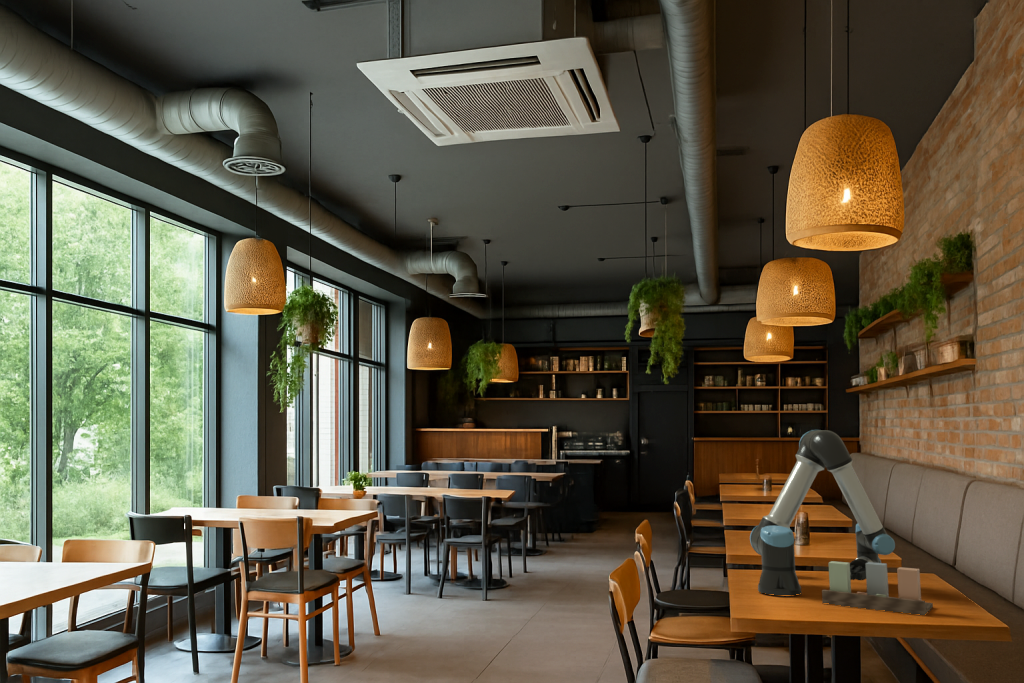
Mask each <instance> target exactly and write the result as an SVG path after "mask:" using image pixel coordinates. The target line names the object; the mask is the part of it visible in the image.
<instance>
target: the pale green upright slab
mask: <svg viewBox="0 0 1024 683" xmlns="http://www.w3.org/2000/svg"><path fill="white" fill-rule="evenodd" d="M850 563H851V562H844V561H834V560H833V561H832V560H831V561H829V562H828V579H829V581H828V582H829V590H831V591H840V592H849V593H852V586H851V585H852V584H851V583H852V582H851V581H852V580H850Z"/></svg>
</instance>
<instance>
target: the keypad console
mask: <svg viewBox="0 0 1024 683" xmlns="http://www.w3.org/2000/svg"><path fill="white" fill-rule="evenodd" d="M821 596H822V597H821V602H822V604H823V603H829V604H835V605H834V606H836V605H841V606H840V607H845V606H850V607H849V608H853V607H858V608H857V609H861V608H866V609H865V610H870V609H875V610H874V611H878V610H885V611H884V612H886V611H893V612H892V613H895V612H903V613H911V614H920V615H925V614H926V613H927V612H928V611H929V610H930V609H931V608H932V607H933V608H934V604H933V602H927V601H926V600H923V599H921V600H913V599H904V598H899V597H893V596H889V597H887V595H883V594H876V595H867V592H863V591H862V592H861V591H857V592H856V593H855V592H851V593H849V592H840V591H831V590H830V589H822V590H821ZM933 608H932V609H933ZM932 609H931V610H932ZM931 610H930V611H931ZM930 611H929V612H930ZM929 612H928V613H929ZM903 613H902V614H903ZM928 613H927V614H928ZM911 614H910V615H911ZM920 615H919V616H920Z"/></svg>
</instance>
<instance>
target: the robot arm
mask: <svg viewBox="0 0 1024 683" xmlns="http://www.w3.org/2000/svg"><path fill="white" fill-rule="evenodd" d="M795 458H796V462H795V464H794V466H793V468H792V470H791V472H790V474H789V476H788V477H787V480H786V481H785V483H784V485H783V487H782V489H781V491H780V493H779V494H778V496H777V498H776V500H775V502H774V504H773V506H772V508H771V509H770V512H769V513H768V514H767V515H763V516H762V517H761V520H760V522H759V524H758V525H756V526H754V527H753V529H752V530H751V532H750V535H749V541H750V542H749V543H750V545H751V547H752V549H753V551H754V552H756V554H758V555H760V556H761V574H760V576H759V580H758V581H759V582H758V585H757V591H759V592H761V593H760V594H762V593H766V594H774V595H796V594H800V593H801V594H802V586H801V585H800V582H799V579H798V576H797V573H796V561H795V560H796V557H795V556H796V555H795V554H796V553H795V537H794V532H793V530H792V529H791V528H790V527H791V524H792V522H793V520H794V519H795V517H796V515H797V514H798V511H799V509H800V508H801V505H802V503H803V502H804V500H805V498H806V496H807V494H808V492H809V490H810V488H811V486H812V485H813V482H814V480H815V479H816V477H817V475H818V474H819V472H821V471H825V469H826V470H827V471H828V472H830V473H831V474H832V475H833V477H834V479H835V481H836V483H837V485H838V487H839V489H840V491H841V493H842V495H843V498H844V499H845V502H847V504H848V507H849V508H850V511H851V512H852V514H853V516H854V519H855V520H856V522H857V523H856V524H855V542H856V558H855V559H854V560H852V561H851V562H849V563H850V580H851V581H855V580H857V581H864V580H866V563H868V562H874V563H882V560H881V558H880V557H879V555H882V556H887V555H888V556H889V555H891V554H892V553H893V552H894V550H895V548H896V543H895V540H894V538H893V537H891V536H890V535H889V534H888V533H887V531H886V530H885V527H884V526H883V525H882V522H881V520H880V517H879V515H878V514H877V512H876V510H875V508H874V506H873V504H872V502H871V500H870V498H869V496H868V494H867V492H866V490H865V488H864V487H863V484H862V483H861V481H860V478H859V477H858V475H857V473H856V470H855V469H854V466H853V465H852V464H853V458H852V457H851V454H850V452H849V451H848V449H847V447H846V445H845V443H844V441H843V440H842V438H841V437H840V436H839V435H838V434H837V433H836V432H834V431H832V430H828V429H827V430H825V429H824V430H821V429H811V430H809V431H807V432H805V433H804V434H802V436H801V437H800V440H799V442H798V450H797V452H796V454H795ZM759 592H758V593H759ZM801 594H800V595H801Z"/></svg>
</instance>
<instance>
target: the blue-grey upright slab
mask: <svg viewBox="0 0 1024 683" xmlns="http://www.w3.org/2000/svg"><path fill="white" fill-rule="evenodd" d="M888 577H889V576H888V564H887V563H884V562H883V563H882V562H881V563H874V562H868V563H866V579H865V580H866V593H867V595H876V594H883V595H887V597H890V596H889V580H888Z"/></svg>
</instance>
